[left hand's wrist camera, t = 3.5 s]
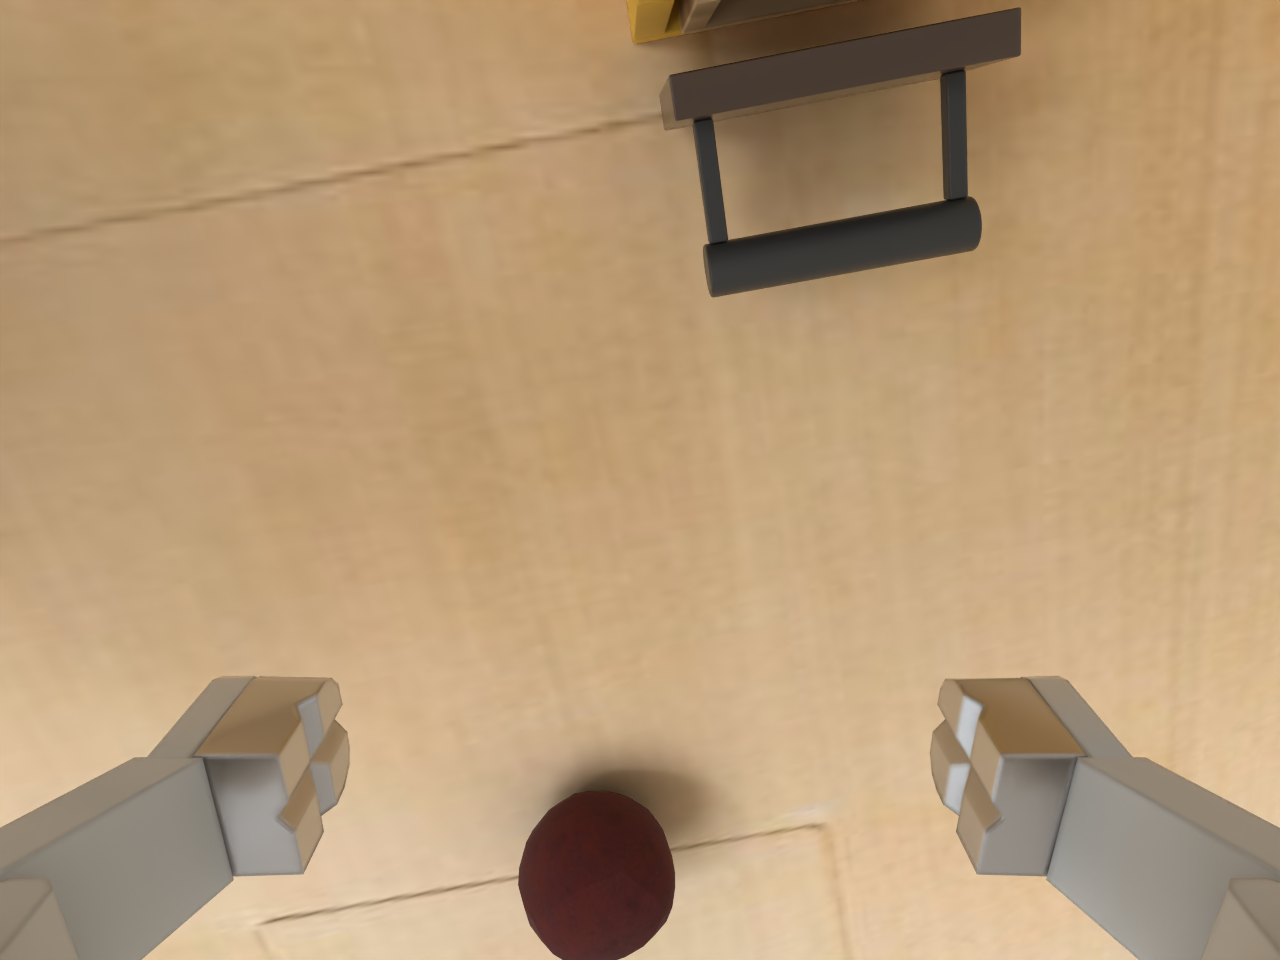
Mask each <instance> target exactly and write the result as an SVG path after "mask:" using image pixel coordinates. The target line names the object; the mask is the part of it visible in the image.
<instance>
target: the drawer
mask: <svg viewBox="0 0 1280 960" xmlns="http://www.w3.org/2000/svg"><path fill="white" fill-rule="evenodd" d="M676 1H677V8H678V15H679V23H680V30H681V34H682V35H687V34H692V33H697V32H702V31H707V30H712V29H717V28H722V27H728V26H733V25H738V24H743V23H748V22H753V21H758V20H763V19H768V18H774V17H779V16H784V15H789V14H794V13H799V12H804V11H809V10H814V9H819V8H825V7H830V6H835V5H840V4H845V3H850V2H855V1H860V0H676ZM1020 54H1021V8H1013V9H1008V10H1003V11H998V12H993V13H988V14H983V15H977V16H972V17H967V18H962V19H957V20H952V21H946V22H941V23H936V24H931V25H926V26H921V27H915V28H910V29H905V30H900V31H895V32H890V33H884V34H879V35H874V36H869V37H864V38H859V39H853V40H848V41H843V42H838V43H833V44H828V45H822V46H817V47H812V48H807V49H802V50H797V51H791V52H786V53H781V54H776V55H771V56H766V57H760V58H755V59H750V60H745V61H740V62H735V63H730V64H724V65H719V66H714V67H709V68H704V69H699V70H693V71H688V72H683V73H678V74H673V75H670V76H669V77H668V79H667V81H666V83H665V85H664V87H663V89H662V91H661V93H660V103H661V109H662V116H663V123H664V129H665V130H666V131H667V130H672V129H678V128H683V127H688V126H693V132H694V139H695V146H696V154H697V161H698V168H699V176H700V183H701V190H702V198H703V205H704V212H705V219H706V227H707V234H708V241H709V243H710V244H705V245H704V247H703V257H704V266H705V273H706V279H707V284H708V289H709V293H710V295H711V297H718V296H724V295H730V294H735V293H741V292H746V291H752V290H757V289H763V288H768V287H774V286H780V285H785V284H791V283H796V282H802V281H807V280H813V279H818V278H824V277H830V276H835V275H841V274H846V273H852V272H857V271H863V270H868V269H874V268H880V267H885V266H891V265H896V264H902V263H907V262H913V261H918V260H924V259H930V258H935V257H941V256H946V255H952V254H957V253H963V252H968V251H973V250H974V249H976V248H977V246H978V244H979V242H980V238H981V230H982V222H981V214H980V210H979V207H978V204H977V202H976V201H975V199H974V198H972V197H969V196H968V183H967V126H966V72H965V71H968V70H971V69H975V68H978V67H982V66H985V65H989V64H992V63H996V62H1000V61H1003V60H1007V59H1010V58H1014V57H1017V56H1020ZM939 78H940V84H941V119H942V155H943V190H944V199H945V201H939V202H934V203H928V204H923V205H918V206H912V207H907V208H901V209H896V210H890V211H885V212H879V213H874V214H868V215H863V216H857V217H852V218H847V219H841V220H836V221H830V222H825V223H819V224H814V225H808V226H803V227H797V228H792V229H787V230H781V231H776V232H770V233H765V234H759V235H754V236H748V237H743V238H737V239H732V240H728V235H727V227H726V219H725V211H724V204H723V196H722V188H721V180H720V172H719V164H718V157H717V149H716V141H715V133H714V125H713V122H714V121H720V120H725V119H730V118H735V117H741V116H746V115H751V114H756V113H762V112H767V111H772V110H777V109H783V108H788V107H793V106H798V105H804V104H809V103H814V102H819V101H825V100H830V99H835V98H840V97H846V96H851V95H856V94H861V93H867V92H872V91H877V90H882V89H888V88H893V87H898V86H903V85H909V84H914V83H919V82H924V81H930V80H935V79H939Z"/></svg>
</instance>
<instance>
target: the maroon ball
mask: <svg viewBox="0 0 1280 960" xmlns="http://www.w3.org/2000/svg"><path fill="white" fill-rule="evenodd" d="M518 886H519V890H520V893H521V897H522V901H523V905H524V908H525V911H526V914H527V917H528V921H529V924H530V926H531V927H532V929H533V930H534V931H535V933H536V934H537V935H538V937H539V938H540V939H541V941H542V942H543V943H544V944H545V945H546V946H547V948H548V949H549V950H550V951H551V952H552V953H553V954H554V955H556V956H557V957H559V958H561V959H562V960H618V959H621V958H624V957H626V956H628V955H629V954H631V953H633V952H635V951H636V950H638V949H640V948H641V947H643V946H644V945H645V944H646V943H647V942H648V941H649V940H650V939H651V938H652V937H653V936H654V935H655V934H656V933H657V932H658V931H659V929H660V928H661V927H662V926H663V925H664V924H665V922H666V921H667V919H668V916H669V914H670V911H671V909H672V905H673V898H674V891H675V870H674V865H673V859H672V855H671V852H670V849H669V846H668V843H667V840H666V837H665V834H664V831H663V829H662V828H661V826H660V824H659V823H658V821H657V820H656V819H655V818H654V816H653V815H652V814H651V813H650V811H649V810H648V809H646V808H645V807H643V806H642V805H640V804H639V803H637V802H635V801H634V800H632V799H631V798H629V797H626V796H624V795H621V794H617V793H613V792H603V791H588V792H582V793H576V794H573V795H572V796H570V797H568V798H567V799H565V800H563V801H562V802H560V803H558V804H557V805H556V806H554V807H553V808H551V809H550V810H549V811H548V812H547V813H546V814H545V816H544V817H543V818H542V819H541V821H540V822H539V823H538V824H537V826H536V827H535V828H534V829H533V831H532V833H531V835H530V837H529V839H528V840H527V842H526V845H525V849H524V853H523V856H522V860H521V863H520V867H519V882H518Z"/></svg>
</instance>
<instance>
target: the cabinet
mask: <svg viewBox="0 0 1280 960" xmlns="http://www.w3.org/2000/svg"><path fill="white" fill-rule="evenodd" d="M626 2H627V8H628V15H629V21H630V28H631V34H632V40H633V43H634V44H639V43H644V42H649V41H654V40H659V39H664V38H669V37H674V36H679V35H682V34H681V30H680V23H679V15H678V8H677V1H676V0H626Z"/></svg>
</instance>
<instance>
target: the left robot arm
mask: <svg viewBox="0 0 1280 960" xmlns="http://www.w3.org/2000/svg"><path fill="white" fill-rule="evenodd" d="M341 706H342V699H341V695H340V690H339V685H338V683H337V682H336V681H334V680H333V679H332V678H310V677H263V676H260V677H254V676H222V677H220V678H217V679H214V680H212V681H211V682H210V684H209V685H208V686H207V687H206V688H205V689H204V691H203V692H202V693H201V694H200V695H199V697H198V698H197V699H196V700H195V701H194V702H193V704H192V705H191V706H190V707H189V708H188V709H187V711H186V712H185V713H184V714H183V715H182V717H181V718H180V719H179V720H178V721H177V722H176V724H175V725H174V726H173V727H172V728H171V730H170V731H169V732H168V733H167V734H166V735H165V737H164V738H163V739H162V740H161V741H160V743H159V744H158V745H157V746H156V747H155V748H154V750H153V751H152V752H151V753H150V754H149V755H148V757H145V758H133V759H131V760H129V761H127V762H125V763H123V764H121V765H119V766H118V767H116V768H114V769H112V770H110V771H108V772H106V773H104V774H102V775H100V776H98V777H97V778H95V779H93V780H91V781H89V782H87V783H85V784H83V785H81V786H79V787H77V788H76V789H74V790H72V791H70V792H68V793H66V794H64V795H62V796H60V797H58V798H56V799H54V800H53V801H51V802H49V803H47V804H45V805H43V806H41V807H39V808H37V809H35V810H33V811H32V812H30V813H28V814H26V815H24V816H22V817H20V818H18V819H16V820H14V821H12V822H11V823H9V824H7V825H5V826H3V827H1V828H0V960H141V959H143V958H144V957H145V956H146V955H147V954H148V953H150V952H151V951H152V950H153V949H154V948H155V947H157V946H158V945H159V944H160V943H161V942H162V941H163V940H165V939H166V938H167V937H168V936H169V935H170V934H172V933H173V932H174V931H175V930H176V929H177V928H179V927H180V926H181V925H182V924H183V923H184V922H186V921H187V920H188V919H189V918H190V917H191V916H192V915H194V914H195V913H196V912H197V911H198V910H199V909H201V908H202V907H203V906H204V905H205V904H206V903H208V902H209V901H210V900H211V899H212V898H213V897H215V896H216V895H217V894H218V893H219V892H220V891H221V890H223V889H224V888H225V887H226V886H227V885H228V884H230V883H231V882H232V881H233V876H261V875H295V874H304V871H305V869H306V867H307V865H308V863H309V861H310V859H311V857H312V855H313V853H314V851H315V849H316V847H317V845H318V843H319V841H320V838H321V836H322V834H323V832H324V829H323V824H322V818H321V816H322V815H323V814H324V813H326V812H327V811H329V810H330V809H331V808H333V807H334V806H335V805H337V803H338V801H339V798H340V796H341V794H342V792H343V790H344V787H345V783H346V778H347V774H348V769H349V751H350V747H349V740H348V734H347V731H346V730H345V729H344V728H343V727H342V726H341V725H340V724H339V723H338V722H337V721H336V720H335V717H336V715H337V714H338V712H339V710H340V708H341ZM938 706H939V708H940V710H941V712H942V714H943V715H944V717H945V720H944V721H943V722H942V723H941V724H940V725H939V726H938V727H937V728H936V729H935V730H934V731H933V734H932V742H931V750H930V757H931V769H932V776H933V779H934V783H935V787H936V790H937V792H938V794H939V796H940V799H941V801H942V803H943V805H945V806H946V807H947V808H949V809H950V810H952V811H953V812H954V813H956V814H957V815H958V816H959V819H958V824H957V830H956V832H957V834H958V836H959V838H960V840H961V843H962V845H963V847H964V849H965V851H966V853H967V855H968V857H969V859H970V861H971V863H972V865H973V867H974V869H975V871H976V873H977V874H983V875H1018V876H1047V879H1046V880H1047V881H1048V882H1050V883H1051V884H1052V885H1053V886H1054V887H1055V888H1057V889H1058V890H1059V891H1060V892H1061V893H1062V894H1064V895H1065V896H1066V897H1067V898H1068V899H1069V900H1070V901H1072V902H1073V903H1074V904H1075V905H1076V906H1077V907H1079V908H1080V909H1081V910H1082V911H1083V912H1084V913H1086V914H1087V915H1088V916H1089V917H1090V918H1091V919H1092V920H1094V921H1095V922H1096V923H1097V924H1098V925H1099V926H1101V927H1102V928H1103V929H1104V930H1105V931H1106V932H1108V933H1109V934H1110V935H1111V936H1112V937H1113V938H1114V939H1116V940H1117V941H1118V942H1119V943H1120V944H1121V945H1123V946H1124V947H1125V948H1126V949H1127V950H1128V951H1129V952H1131V953H1132V954H1133V955H1134V956H1135V957H1136V958H1138V959H1139V960H1280V828H1279V827H1277V826H1275V825H1273V824H1271V823H1269V822H1267V821H1265V820H1263V819H1262V818H1260V817H1258V816H1256V815H1254V814H1252V813H1250V812H1248V811H1246V810H1244V809H1242V808H1241V807H1239V806H1237V805H1235V804H1233V803H1231V802H1229V801H1227V800H1225V799H1223V798H1222V797H1220V796H1218V795H1216V794H1214V793H1212V792H1210V791H1208V790H1206V789H1204V788H1202V787H1201V786H1199V785H1197V784H1195V783H1193V782H1191V781H1189V780H1187V779H1185V778H1183V777H1181V776H1180V775H1178V774H1176V773H1174V772H1172V771H1170V770H1168V769H1166V768H1164V767H1162V766H1161V765H1159V764H1157V763H1155V762H1153V761H1151V760H1149V759H1147V758H1135V757H1132V755H1131V754H1130V753H1129V752H1128V751H1127V750H1126V748H1125V747H1124V746H1123V745H1122V744H1121V743H1120V741H1119V740H1118V739H1117V738H1116V737H1115V735H1114V734H1113V733H1112V732H1111V731H1110V730H1109V728H1108V727H1107V726H1106V725H1105V724H1104V723H1103V721H1102V720H1101V719H1100V718H1099V717H1098V715H1097V714H1096V713H1095V712H1094V711H1093V710H1092V708H1091V707H1090V706H1089V705H1088V704H1087V703H1086V701H1085V700H1084V699H1083V698H1082V697H1081V695H1080V694H1079V693H1078V692H1077V691H1076V690H1075V688H1074V687H1073V686H1072V685H1071V684H1070V682H1069V681H1068V680H1066V679H1064V678H1062V677H1060V676H1037V677H1021V678H976V679H945V681H944V682H943V684H942V686H941V688H940V693H939V699H938Z"/></svg>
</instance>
